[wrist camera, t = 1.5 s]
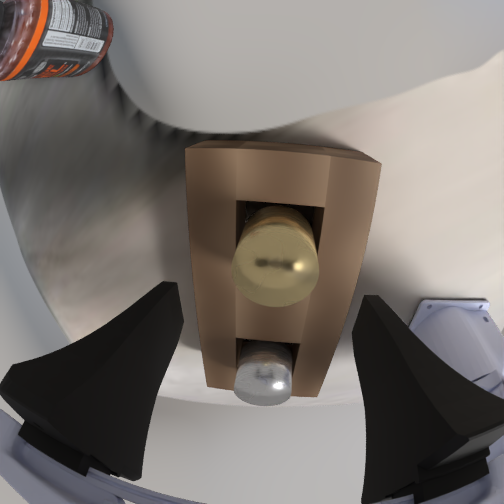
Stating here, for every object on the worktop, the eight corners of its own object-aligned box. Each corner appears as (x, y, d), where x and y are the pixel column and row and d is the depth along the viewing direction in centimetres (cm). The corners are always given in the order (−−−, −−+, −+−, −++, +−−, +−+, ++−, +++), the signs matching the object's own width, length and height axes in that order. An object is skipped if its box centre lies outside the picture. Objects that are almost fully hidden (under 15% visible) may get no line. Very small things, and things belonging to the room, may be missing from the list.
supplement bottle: (59, 84, 15) (-55, 103, 5) (64, 23, 12) (-41, 17, 2) (114, 67, 14) (-16, 66, 5) (121, 1, 12) (10, -36, 2)
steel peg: (295, 340, 19) (295, 379, 16) (288, 372, 21) (287, 407, 18) (240, 335, 20) (233, 373, 17) (240, 368, 22) (234, 402, 19)
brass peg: (317, 208, 14) (325, 236, 11) (308, 272, 16) (311, 310, 13) (243, 202, 15) (231, 229, 12) (241, 266, 17) (231, 302, 14)
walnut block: (361, 152, 16) (381, 163, 12) (315, 364, 25) (317, 397, 22) (206, 140, 17) (184, 148, 13) (215, 355, 26) (207, 386, 23)
